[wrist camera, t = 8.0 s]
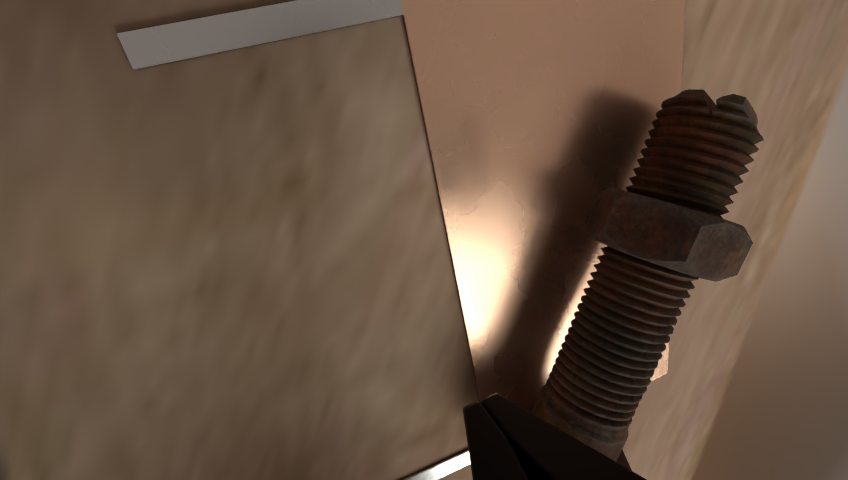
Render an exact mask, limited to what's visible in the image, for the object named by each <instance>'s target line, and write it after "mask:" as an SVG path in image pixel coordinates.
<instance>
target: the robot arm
mask: <svg viewBox="0 0 848 480" xmlns="http://www.w3.org/2000/svg"><path fill="white" fill-rule="evenodd" d="M463 414H464V421H465V428H466V435H467V442H468V449H469V456H470V463H471V470H472V476H473V480H646V479H645V478H643V477H641V476H639V475H638V474H636V473H634V472H633V471H631V470H629V469H627V468H626V467H624V466H622V465H621V464H619V463H617V462H615V461H614V460H612V459H610V458H608V457H607V456H605V455H603V454H602V453H600V452H598V451H596V450H595V449H593V448H591V447H589V446H588V445H586V444H584V443H583V442H581V441H579V440H577V439H576V438H574V437H572V436H570V435H569V434H567V433H565V432H564V431H562V430H560V429H558V428H557V427H555V426H553V425H551V424H550V423H548V422H546V421H545V420H543V419H541V418H539V417H538V416H536V415H534V414H532V413H531V412H529V411H527V410H526V409H524V408H522V407H520V406H519V405H517V404H515V403H514V402H512V401H510V400H508V399H507V398H505V397H503V396H501V395H500V394H492V395H490V396H488V397H486V398H483V399H482V400H481V402H479V401H476V402H474V403H472V404H469V405H467V406H465V407H464V408H463Z"/></svg>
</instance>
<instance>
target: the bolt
mask: <svg viewBox="0 0 848 480" xmlns="http://www.w3.org/2000/svg"><path fill="white" fill-rule="evenodd" d="M716 102H717V105H716V104H715V103H714V102H713V100H712V99H711V98H710V97H709V96H708V94H707V93H706V92H705V91H704V90H685V91H682V92H681V93H679V94H678V95H676V96H674V97H671V98H668V99H666V100H665V101H663V102H662V104H661V107H662V110H659V111H658V112H656V117H657V119H655V120H654V121H652V125H653V127H654V129H652V130H650V131H648V132H649V135H650V137H651V138H649V139H646V140H645V142H644V143H645V145H646V146H647V148H644V149H642V150H641V153H642V155H643V158H640V159H637V161H638V163H639V165H640V167H636V168H634V169H633V171H634V172H635V174H636V176H634V177H631V178H629V179H630V181H631V182H632V184H633V185H630V186H627V187H626V189H627V191H624V190H619V189H615V188H608V189H606V190H604V191H602V192H601V193H600V194H599V195H598V196H597V197H596V200H595V203H594V205H593V208H592V210H591V213H590V215H589V218H588V221H587V231H588V234H589V236H590V237H591V238H593V239H594V240H596V241H598V242H600V243H602V244H604V245H607V246H606V247H603V248H601V250H602V252H603V253H604V255H601V256H597V258H598V259H599V261H600V262H601V263H598V264H595V265H594V267H595V268H596V270H597V271H595V272H591V273H590V274H591V276H592V277H593V279H592V280H589V281H587V283H588V285H589V286H590V287H588V288H585V289H584V292H585V294H586V295H583V296H581V301H582V302H583V303H579V304H578V306H577V308H578V310H579V311H576V312H574V317H575V319H573V320H571V325H572V327H569V328H568V330H567V331H568V334H567V335H565V337H564V339H565V342H563V343H562V344H561V348H562V349H560V350H559V352H558V357H557V358H556V359H555V364H554V365H553V367H552V371H551V372H550V374H549V379H547V382H546V384H545V385H544V386H543V387H542V388H541V390H540V393H539V395H538V397H537V400H536V402H535V404H534V403H515V404H517V405H519V406H520V407H522V408H524V409H526V410H527V411H529V412H531V413H532V414H534V415H536V416H538V417H539V418H541V419H543V420H545V421H546V422H548V423H550V424H551V425H553V426H555V427H557V428H558V429H560V430H562V431H564V432H565V433H567V434H569V435H570V436H572V437H574V438H576V439H577V440H579V441H581V442H583V443H584V444H586V445H588V446H589V447H591V448H593V449H595V450H596V451H598V452H600V453H602V454H603V455H605V456H607V457H608V458H610V459H612V460H614V461H615V462H617V463H619V464H621V465H622V466H624V467H626V468H627V469H629V470H631V468H630V466H629V463H628V461H627V459H626V457H625V455H624V452H623V450H622V448H623V446H624V444H625V442H626V440H627V437H628V427H629V425H630V424H631V422H632V417H633V416H634V414H635V409H636V408H637V407H638V403H639V401H640V400H641V399H642V395H643V394H644V393H645V392H646V390H647V387H646V386H648V385H649V384H650V382H651V379H650V378H651V377H653V375H654V371H655V370H654V369H656V368H657V366H658V361H659V360H660V359H662V352H663V351H665V350H666V345H665V344H664V343H668V342H669V340H670V337H669V334H672V333H673V330H674V328H673V327H672V325H676V323H677V319H676V317H675V316H680V314H681V311H680V309H679V307H684V306H685V305H686V304H685V302H684V301H683V299H685V298H689V297H690V295H689V293H688V292H687V290H689V289H693V288H695V287H694V285H693V284H692V282H691V281H693V280H697V279H698V278H702V279H707V280H711V281H720V280H723V279H726V278H729V277H732V276H735V275H737V274H738V272H739V270H740V268H741V266H742V264H743V262H744V260H745V258H746V256H747V254H748V252H749V250H750V248H751V246H752V244H753V242H752V240H751V239H750V237H749V235H748V233H747V231H746V229H745V227H744V226H742V225H739V224H736V223H733V222H731V221H728V220H724V219H723V218H722V217H721V216H720V215H722V214H725V213H728V212H729V211H728V210H727V208H726V207H725V205H728V204H731V203H734V202H733V201H732V200H731V199H730V197H729V196H731V195H733V194H736V193H738V192H737V190H736V189H735V187H734V186H736V185H738V184H740V183H742V182H743V181H742V180H741V178H740V177H739V175H742V174H744V173H746V172H748V169H747V168H746V167H745V166H744V165H746V164H748V163H750V162H752V161H753V160H754V159H753V158H752V157H751V156H750V154H752V153H755V152H757V151H758V150H759V149H758V148H757V147H756V146H755V145H754V144H756V143H758V142H760V141H763V140H764V139H763V137H762V136H761V135H760V134H759V132H758V130H757V123H758V121H757V115H756V113H755V111H754V110H753V108H752V106H751V105H750V103H749V102H748V100H747V99H746V97H742V96H739V95H735V94H732V95H727V96H723V97H721V98H719V99H717V100H716ZM631 471H632V470H631Z"/></svg>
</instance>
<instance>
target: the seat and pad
mask: <svg viewBox="0 0 848 480" xmlns="http://www.w3.org/2000/svg"><path fill="white" fill-rule="evenodd" d="M685 4H686V0H295V1H290V2H285V3H279V4H274V5H268V6H263V7H257V8H252V9H247V10H241V11H236V12H230V13H225V14H219V15H214V16H209V17H203V18H198V19H192V20H187V21H181V22H176V23H171V24H165V25H160V26H154V27H149V28H143V29H138V30H133V31H127V32H122V33H117V36H118V38H119V40H120V42H121V44H122V46H123V49H124V51H125V53H126V55H127V57H128V60H129V62H130V64H131V66H132V68H133V70H136V69H141V68H145V67H150V66H155V65H160V64H165V63H170V62H175V61H180V60H185V59H190V58H195V57H200V56H204V55H209V54H214V53H219V52H224V51H229V50H234V49H239V48H244V47H249V46H254V45H259V44H264V43H268V42H273V41H278V40H283V39H288V38H293V37H298V36H303V35H308V34H313V33H318V32H323V31H327V30H332V29H337V28H342V27H347V26H352V25H357V24H362V23H367V22H372V21H377V20H382V19H387V18H391V17H396V16H401V15H403V18H404V23H405V28H406V33H407V38H408V43H409V48H410V53H411V58H412V63H413V68H414V73H415V78H416V83H417V88H418V93H419V98H420V103H421V108H422V113H423V118H424V123H425V128H426V133H427V138H428V143H429V148H430V153H431V158H432V163H433V168H434V173H435V178H436V183H437V188H438V193H439V198H440V203H441V208H442V213H443V218H444V223H445V228H446V233H447V238H448V243H449V248H450V253H451V258H452V263H453V268H454V273H455V278H456V283H457V288H458V293H459V298H460V303H461V308H462V313H463V318H464V323H465V328H466V333H467V338H468V343H469V348H470V353H471V358H472V363H473V368H474V373H475V378H476V383H477V388H478V393H479V398H480V402H481V400H482V399H483V398H486V397H488V396H490V395H492V394H500V395H501V396H503V397H505V398H507V399H508V400H510V401H512V402H514V403H534V404H535V402H536V400H537V397H538V395H539V393H540V390H541V388H542V387H543V386H544V385H545V384H546V382H547V379H549V374H550V372H551V371H552V367H553V365H554V364H555V359H556V358H557V357H558V352H559V350H560V349H562V348H561V344H562V343H563V342H565V339H564V337H565V335H567V334H568V331H567V330H568V328H569V327H572V325H571V320H573V319H575V317H574V312H576V311H579V310H578V308H577V306H578V304H579V303H583V302H582V301H581V296H583V295H586V294H585V292H584V289H585V288H588V287H590V286H589V285H588V283H587V281H589V280H592V279H593V277H592V276H591V274H590V273H591V272H595V271H597V270H596V268H595V267H594V265H595V264H598V263H601V262H600V261H599V259H598V258H597V256H601V255H604V253H603V252H602V250H601V248H603V247H606V246H607V245H604V244H602V243H600V242H598V241H596V240H594V239H593V238H591V237H590V236H589V234H588V231H587V221H588V218H589V215H590V213H591V210H592V208H593V205H594V203H595V200H596V197H597V196H598V195H599V194H600V193H601V192H602V191H604V190H606V189H608V188H615V189H619V190H624V191H627V189H626V187H627V186H630V185H633V184H632V182H631V181H630V179H629V178H631V177H634V176H636V174H635V172H634V171H633V169H634V168H636V167H640V165H639V163H638V161H637V159H640V158H643V155H642V153H641V150H642V149H644V148H647V146H646V145H645V143H644V142H645V140H646V139H649V138H651V137H650V135H649V132H648V131H650V130H652V129H654V127H653V125H652V121H654V120H655V119H657V117H656V112H658V111H659V110H662V107H661V104H662V102H663V101H665V100H666V99H668V98H671V97H674V96H676V95H678V94H679V93H681V85H682V64H683V44H684V24H685ZM664 344H665V345H666V350H665V351H663V352H662V359H660V360H659V361H658V366H657V368H656V369H654V370H655V371H654V375H653V377H651V378H650V379H651V381H652V380H654V379H656V378H658V377H661V376H663V375H665V374H667V367H668V347H669V342H668V343H664ZM469 464H471V463H470V456H469V449H468V450H466V451H464V452H461V453H459V454H457V455H455V456H453V457H451V458H448V459H446V460H444V461H442V462H440V463H438V464H435V465H433V466H431V467H429V468H427V469H424V470H422V471H420V472H418V473H416V474H414V475H411V476H409V477H407V478H405V479H403V480H437V479H439V478H442V477H444V476H446V475H448V474H450V473H452V472H454V471H457V470H459V469H461V468H463V467H465V466H467V465H469Z"/></svg>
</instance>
